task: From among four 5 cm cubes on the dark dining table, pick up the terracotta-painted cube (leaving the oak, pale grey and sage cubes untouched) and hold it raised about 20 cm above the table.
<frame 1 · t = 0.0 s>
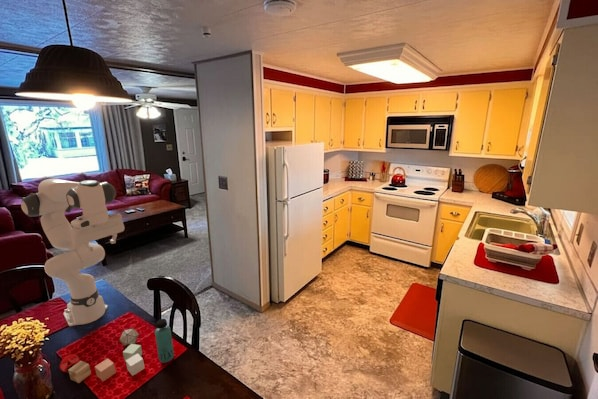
hand: (102, 247, 131), 48 cm above the table, fingers open, 8 cm apart
cap: (71, 367, 126), on the table
block sage: (133, 357, 131), on the table
block terracotta: (106, 374, 123), on the table
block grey: (136, 369, 125), on the table
block oak: (81, 376, 122), on the table
game die: (130, 344, 139), on the table
beverage bottle: (167, 360, 130), on the table
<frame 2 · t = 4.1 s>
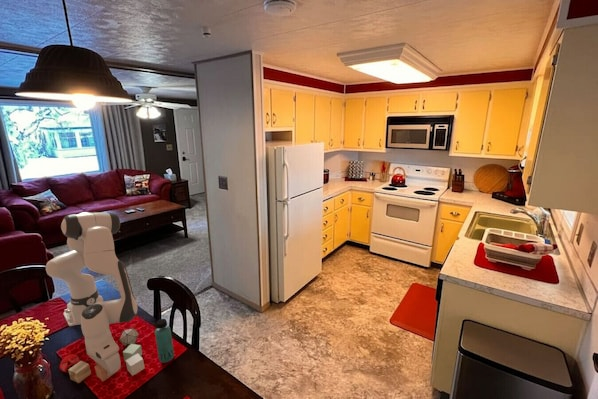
hand: (105, 371, 122), 2 cm above the table, fingers closed on block terracotta, 5 cm apart
block terracotta: (106, 374, 123), on the table, touching gripper
everything else where it was.
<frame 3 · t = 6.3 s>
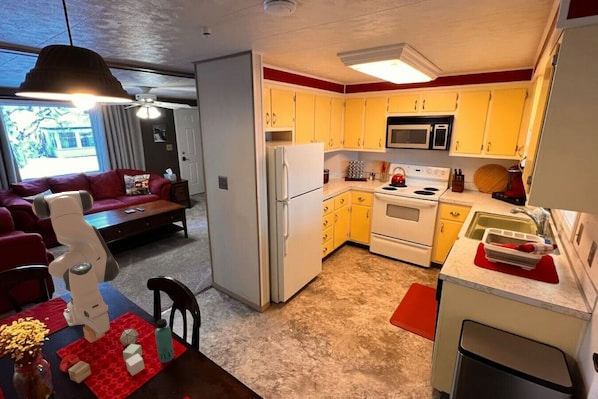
hand: (94, 333, 118), 20 cm above the table, fingers closed on block terracotta, 5 cm apart
block terracotta: (94, 336, 119), point 18 cm above the table, touching gripper
everything else where it was.
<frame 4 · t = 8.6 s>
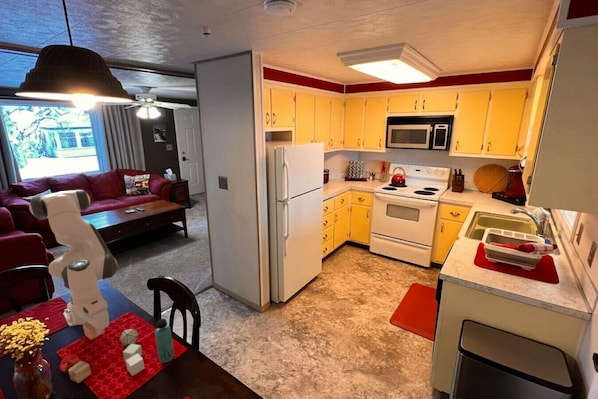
hand: (94, 330, 118), 21 cm above the table, fingers closed on block terracotta, 5 cm apart
block terracotta: (95, 333, 118), point 19 cm above the table, touching gripper
everything else where it was.
at the end: the gripper is holding block terracotta; block terracotta point 19.5 cm above the table; block oak moved 0.1 cm from its start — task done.
